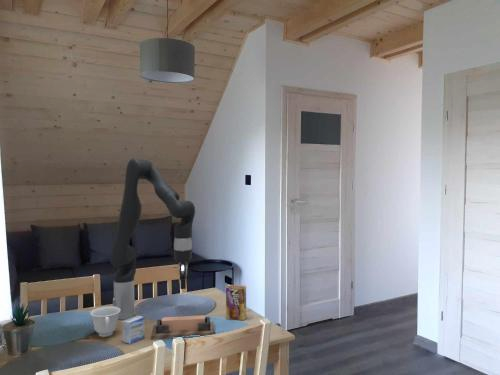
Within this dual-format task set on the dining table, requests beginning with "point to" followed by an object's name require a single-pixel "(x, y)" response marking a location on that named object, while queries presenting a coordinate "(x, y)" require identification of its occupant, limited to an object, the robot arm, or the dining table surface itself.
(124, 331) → the medicine box
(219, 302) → the dining table surface
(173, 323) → the slat
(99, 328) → the teacup
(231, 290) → the candy box
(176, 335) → the board
